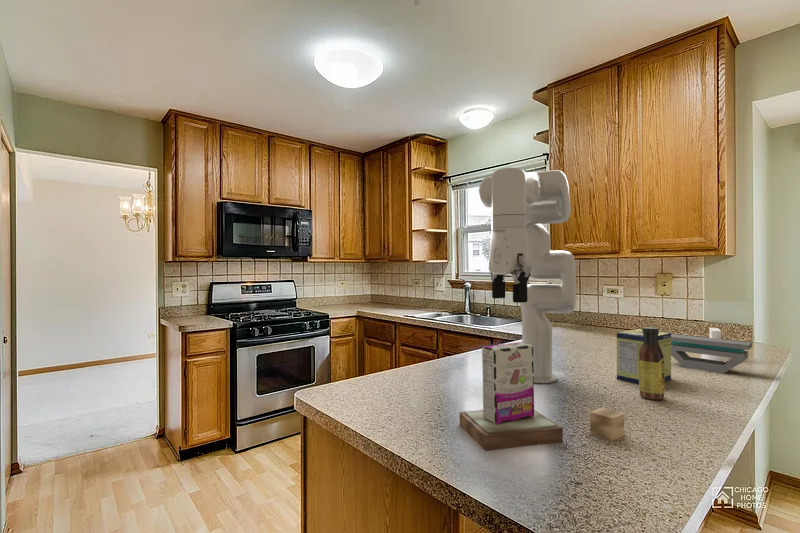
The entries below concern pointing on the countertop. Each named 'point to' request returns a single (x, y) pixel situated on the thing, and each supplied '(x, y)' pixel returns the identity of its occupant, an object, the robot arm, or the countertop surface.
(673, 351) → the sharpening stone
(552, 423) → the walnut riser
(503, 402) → the candy bar box
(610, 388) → the countertop surface
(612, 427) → the oak block
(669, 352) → the protein box
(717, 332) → the base with upright slab
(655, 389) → the sauce bottle
